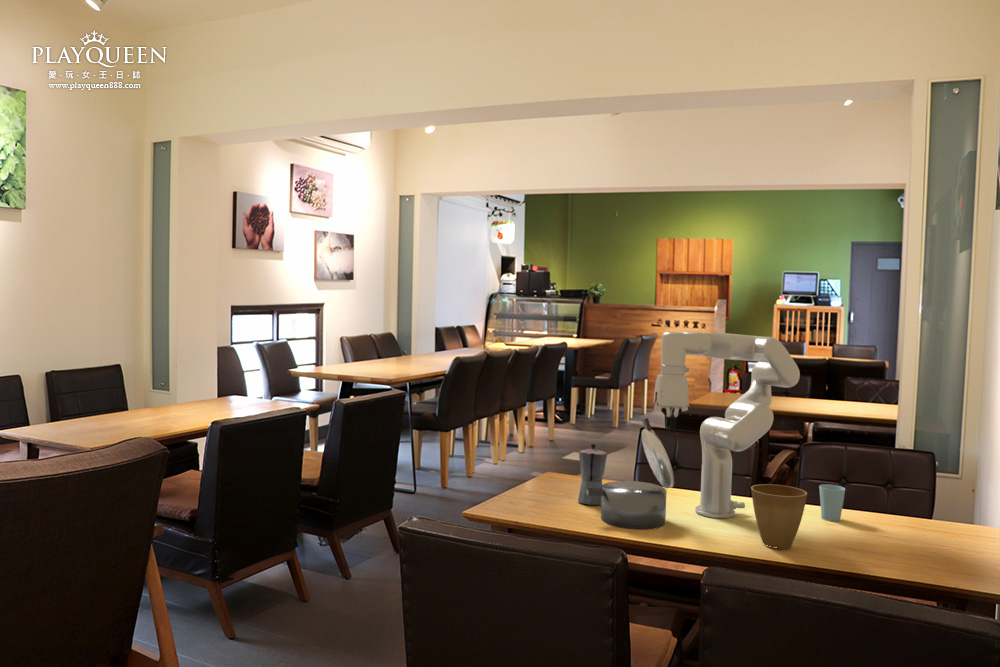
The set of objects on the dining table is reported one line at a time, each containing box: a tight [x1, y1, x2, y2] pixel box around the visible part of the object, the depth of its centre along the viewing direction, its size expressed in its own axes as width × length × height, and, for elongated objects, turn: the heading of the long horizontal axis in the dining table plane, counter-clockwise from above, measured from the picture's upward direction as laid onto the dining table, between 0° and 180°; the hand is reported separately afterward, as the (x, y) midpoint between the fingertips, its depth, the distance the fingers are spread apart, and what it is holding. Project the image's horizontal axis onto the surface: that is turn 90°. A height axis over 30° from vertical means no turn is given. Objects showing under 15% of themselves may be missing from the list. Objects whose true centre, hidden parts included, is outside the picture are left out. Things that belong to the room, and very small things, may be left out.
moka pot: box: [577, 443, 608, 506], centre depth 247 cm, size 10×15×20 cm, turn 174°
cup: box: [818, 484, 846, 522], centre depth 236 cm, size 8×8×10 cm
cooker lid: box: [641, 416, 675, 489], centre depth 229 cm, size 23×20×3 cm
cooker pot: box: [586, 480, 668, 531], centre depth 228 cm, size 25×20×10 cm
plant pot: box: [750, 483, 808, 549], centre depth 207 cm, size 15×15×16 cm
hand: (670, 428), depth 229 cm, fingers closed
